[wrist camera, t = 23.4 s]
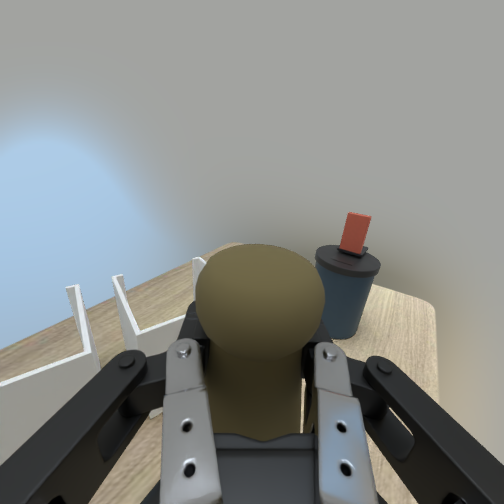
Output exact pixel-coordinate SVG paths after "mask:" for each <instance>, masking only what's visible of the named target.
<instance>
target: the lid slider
mask: <svg viewBox="0 0 504 504" xmlns="http://www.w3.org/2000/svg"><path fill="white" fill-rule="evenodd" d="M370 220H371V216H367V215H362V214H357V213H352V212H349V213H348V215H347V219H346V223H345V228H344V232H343V235H342V239H341V244H340V246H339V247H338V248H337V250H338V251H342V252H345V253H348V254H352V255H355V256H358V257H362V256H363V255H364V253H365V252H366V251H367V250H368V247H364V246H363V244H364V241H365V238H366V234H367V231H368V227H369V224H370Z"/></svg>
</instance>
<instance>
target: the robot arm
mask: <svg viewBox="0 0 504 504" xmlns="http://www.w3.org/2000/svg"><path fill="white" fill-rule="evenodd" d="M209 344H210V338H209V337H207V335H206V333H205V331H204V329H203V327H202V326H201V324H200V321H199V318H198V316H197V313H196V303H195V300H194V301H193V302H192V303H191V304H190V305H189V307H188V310H187V313H186V315H185V319H184V321H183V324H182V327H181V330H180V332H179V335H178V338H177V341H175V342H174V343H172V344H171V345H170V346H169V348H168V350H167V351H165V352H163V353H161V354H157V355H153V356H148V357H146V355H145V354H144V353H143V352H142V351H140V350H127V351H124V352H122V353H120V354H118V355H117V356H115V357H114V358H113V359H112V360H111V361H110V362H109V363H108V364H107V365H106V366H105V367H103V368H102V369H101V370H100V371H99V372H98V373H97V374H96V375H95V376H94V377H93V378H92V379H91V380H90V381H89V382H88V383H87V384H86V385H85V386H83V387H82V388H81V389H80V390H79V391H78V392H77V393H76V394H75V395H74V396H73V397H72V398H71V399H70V400H69V401H68V402H67V403H66V404H65V405H64V406H62V407H61V408H60V409H59V410H58V411H57V412H56V413H55V414H54V415H53V416H52V417H51V418H50V419H49V420H48V421H47V422H46V423H45V424H44V425H43V426H41V427H40V428H39V429H38V430H37V431H36V432H35V433H34V434H33V435H32V436H31V437H30V438H29V439H28V440H27V441H26V442H25V443H24V444H23V445H22V446H20V447H19V448H18V449H17V450H16V451H15V452H14V453H13V454H12V455H11V456H10V457H9V458H8V459H7V460H6V461H5V462H4V463H3V464H2V465H1V466H0V504H88V503H89V501H90V500H91V498H92V497H93V496H94V494H95V493H96V491H97V490H98V488H99V487H100V485H101V484H102V482H103V481H104V479H105V478H106V477H107V475H108V474H109V472H110V471H111V469H112V468H113V466H114V465H115V463H116V462H117V460H118V459H119V458H120V456H121V455H122V453H123V452H124V450H125V449H126V447H127V446H128V444H129V443H130V441H131V440H132V439H133V437H134V436H135V434H136V433H137V431H138V430H139V428H140V427H141V425H142V424H143V422H144V421H145V420H146V418H147V417H148V415H149V414H150V412H151V410H155V409H158V408H161V407H163V425H162V452H161V479H160V480H159V481H158V482H157V484H156V485H155V486H154V487H153V489H152V490H151V491H150V492H149V493H148V495H147V496H146V497H145V498H144V500H143V501H142V502H141V503H140V504H388V503H387V502H386V501H385V500H384V499H383V498H382V497H381V496H380V495H379V493H378V492H377V491H376V486H375V481H374V476H373V470H372V465H371V460H370V454H369V449H368V444H367V438H366V433H365V430H366V432H367V433H368V434H369V436H370V437H371V439H372V440H373V441H374V443H375V444H376V445H377V447H378V448H379V450H380V451H381V452H382V454H383V455H384V457H385V458H386V459H387V461H388V462H389V463H390V465H391V466H392V468H393V469H394V470H395V472H396V473H397V475H398V476H399V477H400V479H401V480H402V481H403V483H404V484H405V486H406V487H407V488H408V490H409V491H410V493H411V494H412V495H413V497H414V498H415V499H416V501H417V502H418V504H504V465H502V464H501V463H500V462H499V461H498V460H497V459H496V458H495V457H494V456H493V455H492V454H491V453H490V452H489V451H487V450H486V449H485V448H484V447H483V446H482V445H481V444H480V443H479V442H478V441H477V440H476V439H475V438H473V437H472V436H471V435H470V434H469V433H468V432H467V431H466V430H465V429H464V428H463V427H462V426H461V425H460V424H458V423H457V422H456V421H455V420H454V419H453V418H452V417H451V416H450V415H449V414H448V413H447V412H446V411H445V410H444V409H442V408H441V407H440V406H439V405H438V404H437V403H436V402H435V401H434V400H433V399H432V398H431V397H430V396H429V395H427V394H426V393H425V392H424V391H423V390H422V389H421V388H420V387H419V386H418V385H417V384H416V383H415V382H414V381H412V380H411V379H410V378H409V377H408V376H407V375H406V374H405V373H404V372H403V371H402V370H401V369H400V368H399V367H397V366H396V365H395V364H394V363H393V362H391V361H390V360H388V359H386V358H384V357H380V356H371V357H369V358H368V359H367V361H366V363H365V362H362V361H358V360H355V359H352V358H349V357H347V356H346V355H345V353H344V351H343V350H342V349H341V348H340V347H338V346H337V345H335V344H333V342H332V340H331V338H330V335H329V333H328V331H327V329H326V327H325V324H324V322H323V320H322V319H321V321H320V324H319V327H318V329H317V331H316V332H315V334H314V335H313V337H312V338H311V339H310V340H309V341H308V342H307V344H306V345H305V346H304V347H303V348H302V358H301V378H305V381H306V387H305V396H304V424H303V433H290V434H287V435H283V436H280V437H277V438H274V439H271V440H268V441H259V440H256V439H253V438H249V437H246V436H243V435H240V434H236V433H213V428H212V421H211V414H210V407H209V400H208V393H207V387H206V385H205V380H204V376H205V375H206V370H207V365H208V359H209ZM389 407H390V408H391V409H392V410H393V411H394V412H395V413H396V414H397V416H398V417H399V418H400V419H401V420H402V421H403V422H404V423H405V425H406V426H407V427H408V428H409V429H410V431H411V432H412V434H413V436H412V435H411V433H410V432H409V431H408V430H407V429H406V428H405V427H404V425H403V424H402V423H401V422H400V421H399V420H398V418H397V417H396V416H395V415H394V414H393V413H392V412H391V410H390V409H389Z"/></svg>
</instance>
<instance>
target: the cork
mask: <svg viewBox="0 0 504 504" xmlns="http://www.w3.org/2000/svg"><path fill="white" fill-rule="evenodd" d="M195 303H196V313H197V316H198V318H199V321H200V324H201V326H202V327H203V329H204V331H205V333H206V335H207V337H209V338H210V344H209V359H208V365H207V370H206V375H205V376H204V380H205V385H206V387H207V393H208V400H209V407H210V414H211V421H212V428H213V433H236V434H240V435H243V436H246V437H249V438H253V439H256V440H259V441H268V440H271V439H274V438H277V437H280V436H283V435H287V434H290V433H300V423H301V388H302V378H301V358H302V348H303V347H304V346H305V345H306V344H307V342H308V341H309V340H310V339H311V338H312V337H313V335H314V334H315V332H316V331H317V329H318V327H319V324H320V321H321V317H322V313H323V309H324V305H325V290H324V287H323V284H322V280H321V278H320V276H319V273H318V271H317V269H316V268H315V267H314V266H313V265H312V264H311V263H310V262H309V261H308V260H307V259H305V258H304V257H302V256H300V255H298V254H297V253H295V252H293V251H290V250H287V249H285V248H281V247H277V246H272V245H264V244H244V245H238V246H233V247H230V248H227V249H224V250H222V251H220V252H218V253H216V254H215V255H213V256H212V257H210V259H209V260H208V262H207V263H206V265H205V266H204V268H203V269H202V271H201V272H200V274H199V275H198V279H197V283H196V288H195Z"/></svg>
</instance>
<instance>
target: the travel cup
mask: <svg viewBox="0 0 504 504" xmlns="http://www.w3.org/2000/svg"><path fill="white" fill-rule="evenodd" d="M339 246H340V245H326V246H322V247H319V248H318V249H317V250H316V255H315V259H316V265H315V268H316V269H317V271H318V273H319V276H320V278H321V280H322V284H323V287H324V290H325V305H324V309H323V313H322V317H321V319H322V320H323V322H324V324H325V327H326V329H327V331H328V333H329V335H330V338H334V339H347V338H350V337H352V336H353V335H354V334H355V333H356V331H357V328H358V325H359V322H360V319H361V316H362V313H363V310H364V307H365V304H366V301H367V298H368V295H369V292H370V289H371V286H372V282H373V279H374V276H375V275H377V274H378V272H379V269H380V266H381V264H380V262H379V260H378V259H376V258H375V257H374V256H372V255H370V254H369V253H366V252H365V253H364V255H363V256H362V257H358V256H355V255H352V254H348V253H345V252H342V251H338V250H337V248H338V247H339Z"/></svg>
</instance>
